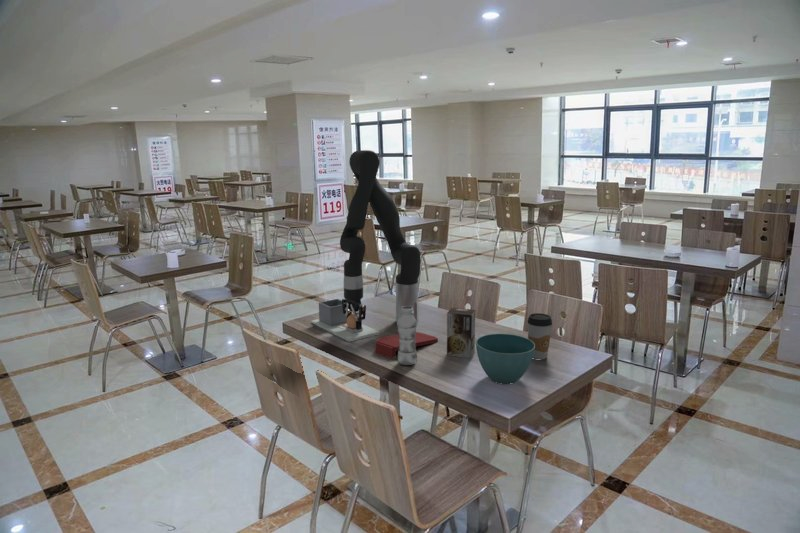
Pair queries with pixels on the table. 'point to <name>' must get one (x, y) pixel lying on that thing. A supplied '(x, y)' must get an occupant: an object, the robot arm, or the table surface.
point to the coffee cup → (539, 333)
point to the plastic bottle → (407, 337)
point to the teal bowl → (505, 356)
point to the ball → (351, 321)
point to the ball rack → (339, 322)
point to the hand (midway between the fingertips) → (354, 327)
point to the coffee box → (461, 332)
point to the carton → (391, 343)
